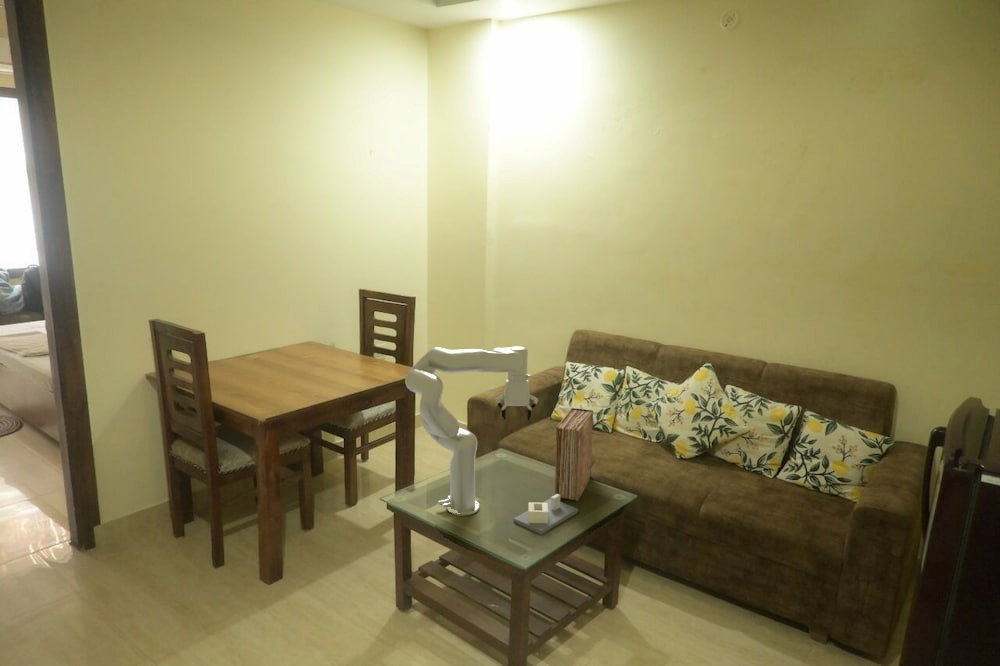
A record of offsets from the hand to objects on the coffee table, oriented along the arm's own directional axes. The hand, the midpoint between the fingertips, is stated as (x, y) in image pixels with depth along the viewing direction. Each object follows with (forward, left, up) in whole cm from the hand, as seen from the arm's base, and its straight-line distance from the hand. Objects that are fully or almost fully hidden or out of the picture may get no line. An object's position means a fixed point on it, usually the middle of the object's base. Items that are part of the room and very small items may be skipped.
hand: (516, 418), depth 248 cm
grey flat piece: (+3, -27, -30) cm, 40 cm away
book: (+23, -7, -30) cm, 38 cm away
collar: (-1, -29, -28) cm, 41 cm away
